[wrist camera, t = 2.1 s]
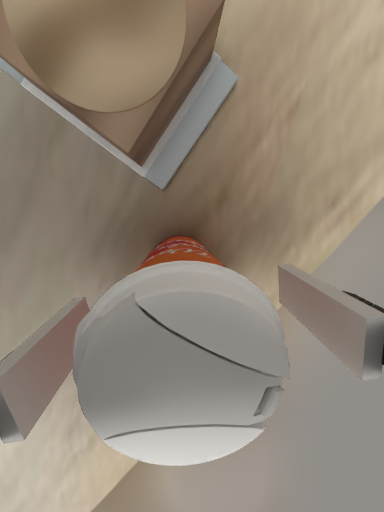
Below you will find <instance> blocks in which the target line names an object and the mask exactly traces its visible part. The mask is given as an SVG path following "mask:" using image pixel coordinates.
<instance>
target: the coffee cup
mask: <svg viewBox="0 0 384 512" xmlns="http://www.w3.org/2000/svg"><path fill="white" fill-rule="evenodd" d="M73 357H74V359H73V377H74V380H75V383H76V386H77V388H78V399H79V403H80V406H81V409H82V411H83V414H84V415H85V417H86V419H87V420H88V422H89V423H90V425H91V427H92V428H93V429H94V430H95V432H96V433H97V434H98V436H99V437H100V438H101V440H102V441H103V442H104V443H106V444H107V445H108V446H110V447H111V448H113V449H115V450H116V451H118V452H119V453H122V454H124V455H126V456H128V457H130V458H133V459H136V460H140V461H143V462H147V463H152V464H158V465H170V466H171V465H172V466H180V465H193V464H198V463H204V462H208V461H211V460H215V459H218V458H221V457H223V456H226V455H228V454H231V453H233V452H235V451H236V450H238V449H240V448H242V447H244V446H245V445H247V444H248V443H249V442H251V441H252V440H254V439H255V438H256V437H257V436H259V435H260V434H261V433H262V432H263V431H264V430H265V426H266V425H265V418H268V417H271V416H272V414H273V412H274V410H275V408H276V406H277V404H278V402H279V399H280V397H281V395H282V393H283V391H284V389H283V388H282V387H280V386H281V384H282V382H283V380H284V378H287V379H289V368H290V367H289V366H290V365H289V358H288V352H287V348H286V346H285V338H284V332H283V326H282V323H281V320H280V317H279V315H278V312H277V310H276V309H275V307H274V305H273V304H272V302H271V301H270V299H269V298H268V297H267V296H266V295H265V293H264V292H263V291H262V290H261V289H260V288H259V287H258V286H257V285H255V284H254V283H253V282H251V281H250V280H249V279H248V278H246V277H244V276H243V275H241V274H239V273H237V272H235V271H233V270H231V269H228V268H226V267H225V266H224V265H223V264H222V263H220V262H219V261H218V260H217V259H216V258H215V257H214V256H213V255H212V254H211V253H210V252H209V251H208V250H207V249H206V248H205V247H204V246H202V245H201V244H200V243H199V242H197V241H196V240H194V239H192V238H189V237H186V236H174V237H171V238H168V239H166V240H164V241H163V242H161V243H160V244H159V245H158V246H157V247H156V248H155V249H154V250H153V251H152V252H151V253H150V255H149V256H148V257H147V258H146V259H145V260H144V261H143V263H142V264H141V265H140V266H139V267H138V268H137V269H136V271H135V272H134V273H132V274H130V275H128V276H126V277H125V278H123V279H122V280H120V281H119V282H117V283H116V284H114V285H113V286H112V287H111V288H109V289H108V290H107V291H106V292H105V293H104V294H103V295H102V296H101V297H100V298H99V299H98V301H97V302H96V303H95V305H94V306H93V307H92V309H91V310H90V311H89V312H88V314H87V315H86V316H85V317H84V318H83V319H82V321H81V322H80V323H79V324H78V327H77V331H76V335H75V338H74V349H73Z"/></svg>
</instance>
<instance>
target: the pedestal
mask: <svg viewBox="0 0 384 512" xmlns="http://www.w3.org/2000/svg"><path fill="white" fill-rule="evenodd" d="M224 2H225V0H0V57H1V58H2V59H3V60H4V61H5V62H7V63H8V64H9V65H10V66H11V67H13V68H14V69H15V70H16V71H17V72H19V73H20V74H21V75H22V76H23V77H25V78H26V79H27V80H28V81H29V82H31V83H32V84H33V85H34V86H36V87H37V88H38V89H40V90H41V91H42V92H44V93H45V94H46V95H48V96H49V97H50V98H51V99H53V100H54V101H55V102H57V103H58V104H59V105H61V106H62V107H63V108H65V109H66V110H67V111H68V112H70V113H71V114H72V115H74V116H75V117H76V118H78V119H79V120H80V121H82V122H83V123H84V124H85V125H87V126H88V127H89V128H91V129H92V130H93V131H95V132H96V133H97V134H99V135H100V136H101V137H103V138H104V139H105V140H106V141H108V142H109V143H110V144H112V145H113V146H114V147H116V148H117V149H118V150H120V151H121V152H122V153H123V154H125V155H126V156H127V157H129V158H130V159H131V160H133V161H134V162H135V163H137V164H138V165H139V166H141V167H142V166H143V165H144V163H145V162H146V160H147V158H148V157H149V155H150V154H151V152H152V151H153V149H154V147H155V146H156V144H157V143H158V141H159V140H160V138H161V137H162V135H163V133H164V132H165V130H166V129H167V127H168V126H169V124H170V123H171V121H172V119H173V118H174V116H175V115H176V113H177V112H178V110H179V109H180V107H181V105H182V104H183V102H184V101H185V99H186V98H187V96H188V95H189V93H190V91H191V90H192V88H193V87H194V85H195V84H196V82H197V81H198V79H199V77H200V76H201V74H202V73H203V71H204V70H205V68H206V67H207V65H208V63H209V62H210V60H211V58H212V53H213V49H214V45H215V40H216V36H217V32H218V27H219V23H220V19H221V15H222V10H223V6H224Z"/></svg>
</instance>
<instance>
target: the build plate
mask: <svg viewBox="0 0 384 512" xmlns="http://www.w3.org/2000/svg"><path fill="white" fill-rule="evenodd" d="M0 68H1V69H2V70H4V71H5V72H6V73H7V74H9V75H10V76H11V77H13V78H14V79H15V80H17V81H18V82H19V83H21V84H20V85H21V86H23V87H24V88H25V89H27V90H28V91H29V92H31V93H32V94H33V95H35V96H36V97H37V98H39V99H40V100H41V101H43V102H44V103H45V104H47V105H48V106H49V107H51V108H52V109H53V110H55V111H56V112H57V113H59V114H60V115H61V116H63V117H64V118H65V119H67V120H68V121H69V122H71V123H72V124H73V125H74V126H76V127H77V128H78V129H80V130H81V131H82V132H84V133H85V134H86V135H88V136H89V137H90V138H92V139H93V140H94V141H96V142H97V143H98V144H100V145H101V146H102V147H104V148H105V149H106V150H108V151H109V152H110V153H112V154H113V155H114V156H116V157H117V158H118V159H120V160H121V161H122V162H124V163H125V164H126V165H128V166H129V167H130V168H132V169H133V170H134V171H136V172H137V173H138V174H140V175H141V176H142V177H145V178H146V179H148V180H149V181H150V182H152V183H153V184H154V185H156V186H157V187H158V188H160V189H161V190H162V191H163V190H164V189H165V188H166V186H167V185H168V183H169V182H170V180H171V179H172V177H173V176H174V174H175V173H176V171H177V170H178V168H179V167H180V165H181V164H182V162H183V161H184V159H185V158H186V157H187V155H188V154H189V152H190V151H191V149H192V148H193V146H194V145H195V143H196V142H197V140H198V139H199V137H200V136H201V134H202V133H203V131H204V130H205V128H206V127H207V125H208V124H209V123H210V121H211V120H212V118H213V117H214V115H215V114H216V112H217V111H218V109H219V108H220V106H221V105H222V103H223V102H224V100H225V99H226V97H227V96H228V94H229V93H230V92H231V90H232V89H233V87H234V86H235V84H236V81H237V79H238V76H237V75H236V74H235V73H234V72H233V71H232V70H231V69H230V68H229V67H228V66H227V65H226V64H225V63H224V62H223V61H222V60H221V57H220V56H219V55H218V54H217V53H216V52H215V51H214V50H213V53H212V58H211V60H210V62H209V63H208V65H207V67H206V68H205V70H204V71H203V73H202V74H201V76H200V77H199V79H198V81H197V82H196V84H195V85H194V87H193V88H192V90H191V91H190V93H189V95H188V96H187V98H186V99H185V101H184V102H183V104H182V105H181V107H180V109H179V110H178V112H177V113H176V115H175V116H174V118H173V119H172V121H171V123H170V124H169V126H168V127H167V129H166V130H165V132H164V133H163V135H162V137H161V138H160V140H159V141H158V143H157V144H156V146H155V147H154V149H153V151H152V152H151V154H150V155H149V157H148V158H147V160H146V162H145V163H144V165H143V166H142V167H141V166H139V165H138V164H137V163H135V162H134V161H133V160H131V159H130V158H129V157H127V156H126V155H125V154H123V153H122V152H121V151H120V150H118V149H117V148H116V147H114V146H113V145H112V144H110V143H109V142H108V141H106V140H105V139H104V138H103V137H101V136H100V135H99V134H97V133H96V132H95V131H93V130H92V129H91V128H89V127H88V126H87V125H85V124H84V123H83V122H82V121H80V120H79V119H78V118H76V117H75V116H74V115H72V114H71V113H70V112H68V111H67V110H66V109H65V108H63V107H62V106H61V105H59V104H58V103H57V102H55V101H54V100H53V99H51V98H50V97H49V96H48V95H46V94H45V93H44V92H42V91H41V90H40V89H38V88H37V87H36V86H34V85H33V84H32V83H31V82H29V81H28V80H27V79H26V78H25V77H23V76H22V75H21V74H20V73H19V72H17V71H16V70H15V69H14V68H13V67H11V66H10V65H9V64H8V63H7V62H5V61H4V60H3V59H2V58H1V57H0Z"/></svg>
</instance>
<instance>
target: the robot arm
mask: <svg viewBox="0 0 384 512" xmlns="http://www.w3.org/2000/svg"><path fill="white" fill-rule="evenodd" d="M278 277H279V298H280V303H281V304H282V305H283V306H284V307H285V308H286V309H288V311H289V312H290V313H291V314H293V315H294V316H295V317H296V318H297V319H298V320H299V321H300V322H301V323H302V324H303V325H304V326H305V327H306V328H307V329H308V330H309V331H310V332H311V333H312V334H313V335H314V336H315V337H317V338H318V339H319V340H320V341H321V342H322V343H323V344H324V345H325V346H326V347H327V348H328V349H329V350H330V351H331V352H332V353H333V354H334V355H335V356H336V357H337V358H338V359H340V360H341V361H342V362H343V363H344V364H345V365H346V366H347V367H348V368H349V369H350V370H351V371H352V372H353V373H354V374H355V375H356V376H357V377H358V378H360V379H361V381H364V380H370V379H376V378H381V373H382V364H383V365H384V309H383V308H381V307H379V306H377V305H373V303H371V302H369V301H367V300H365V299H363V298H361V297H359V296H357V295H355V294H352V293H349V292H345V291H340V290H338V289H336V288H334V287H332V286H331V285H329V284H327V283H325V282H323V281H321V280H319V279H317V278H315V277H313V276H311V275H310V274H308V273H306V272H304V271H302V270H300V269H298V268H296V267H294V266H292V265H290V264H285V265H279V266H278ZM88 312H89V307H88V304H87V301H86V298H85V297H82V298H76V299H73V300H72V301H71V302H70V303H68V304H67V305H66V306H65V307H64V308H63V309H61V310H60V311H59V312H58V313H57V314H56V315H54V316H53V317H52V318H51V319H50V320H49V321H47V322H46V323H45V324H44V325H43V326H42V327H40V328H39V329H38V330H37V331H36V332H35V333H34V334H32V335H31V336H30V337H29V338H28V339H27V340H25V341H24V342H23V343H22V344H21V345H20V346H18V347H17V348H16V349H15V350H14V351H12V352H11V353H10V354H8V355H7V356H6V357H5V358H4V359H3V360H1V362H0V437H1V439H2V441H3V443H4V444H6V443H11V442H17V441H23V440H25V438H26V437H27V436H28V434H29V433H30V431H31V430H32V428H33V427H34V425H35V424H36V422H37V421H38V419H39V418H40V416H41V415H42V413H43V412H44V410H45V409H46V407H47V406H48V404H49V403H50V401H51V400H52V398H53V397H54V395H55V394H56V392H57V391H58V389H59V388H60V386H61V385H62V383H63V382H64V380H65V379H66V377H67V376H68V374H69V373H70V371H71V370H72V368H73V359H74V357H73V349H74V338H75V335H76V331H77V327H78V324H79V323H80V322H81V321H82V319H83V318H84V317H85V316H86V315H87V314H88Z"/></svg>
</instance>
